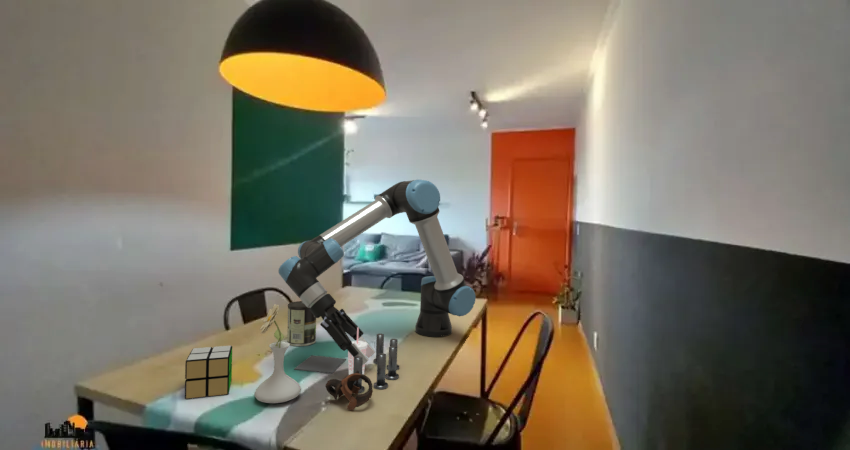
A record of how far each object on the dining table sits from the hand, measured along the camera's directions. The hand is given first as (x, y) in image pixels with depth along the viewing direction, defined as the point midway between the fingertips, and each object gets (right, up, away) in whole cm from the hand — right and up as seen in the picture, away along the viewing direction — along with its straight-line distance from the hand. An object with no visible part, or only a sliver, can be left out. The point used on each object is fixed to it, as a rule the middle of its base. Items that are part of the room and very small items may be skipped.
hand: (368, 358), depth 124 cm
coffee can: (-29, -3, +28) cm, 40 cm away
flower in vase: (-21, -5, -18) cm, 28 cm away
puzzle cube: (-41, -4, -13) cm, 43 cm away
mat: (-16, -4, +7) cm, 18 cm away
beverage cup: (-4, -5, +1) cm, 6 cm away
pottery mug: (-3, -6, -18) cm, 19 cm away
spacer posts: (+4, -5, 0) cm, 6 cm away
